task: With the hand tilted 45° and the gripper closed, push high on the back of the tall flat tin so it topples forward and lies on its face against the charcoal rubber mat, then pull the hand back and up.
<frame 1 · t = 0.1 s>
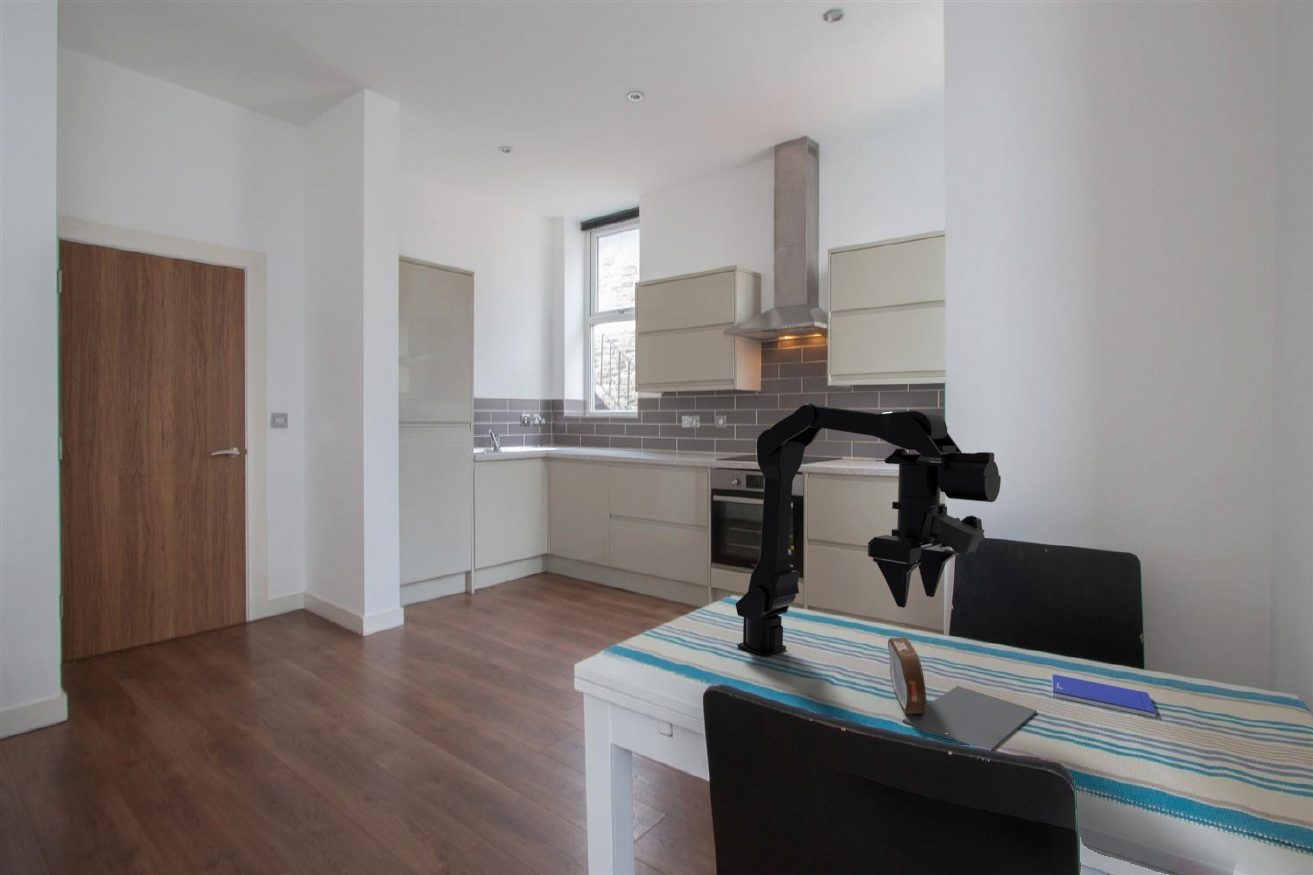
hand: (916, 601, 93), 15 cm above the table, tool pointing down, fingers open, 9 cm apart
tin: (905, 703, 92), on the table, touching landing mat
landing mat: (971, 716, 88), on the table
hard drive: (1099, 701, 96), on the table
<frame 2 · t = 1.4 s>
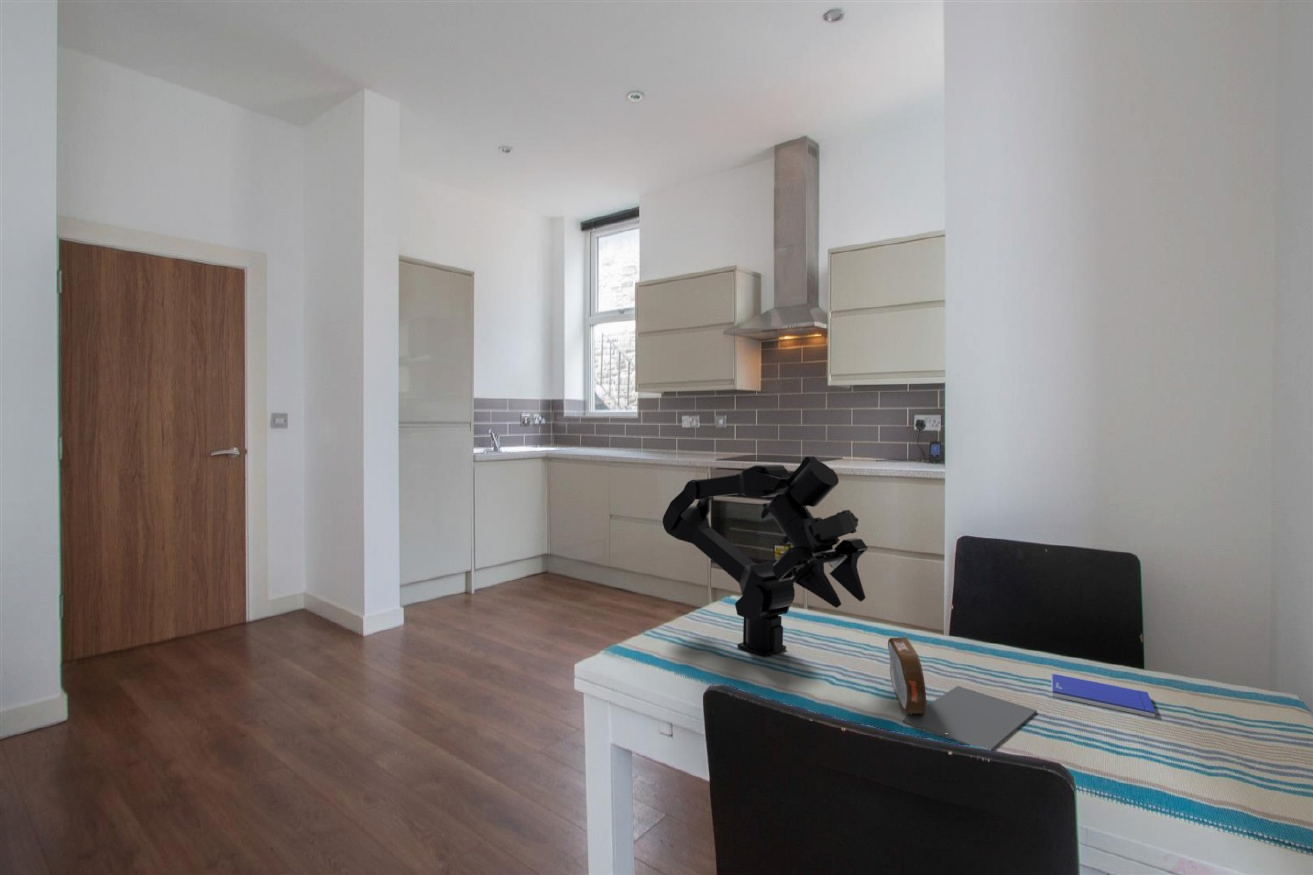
hand: (851, 603, 99), 13 cm above the table, tool tilted 45°, fingers open, 6 cm apart
nothing on the table moved.
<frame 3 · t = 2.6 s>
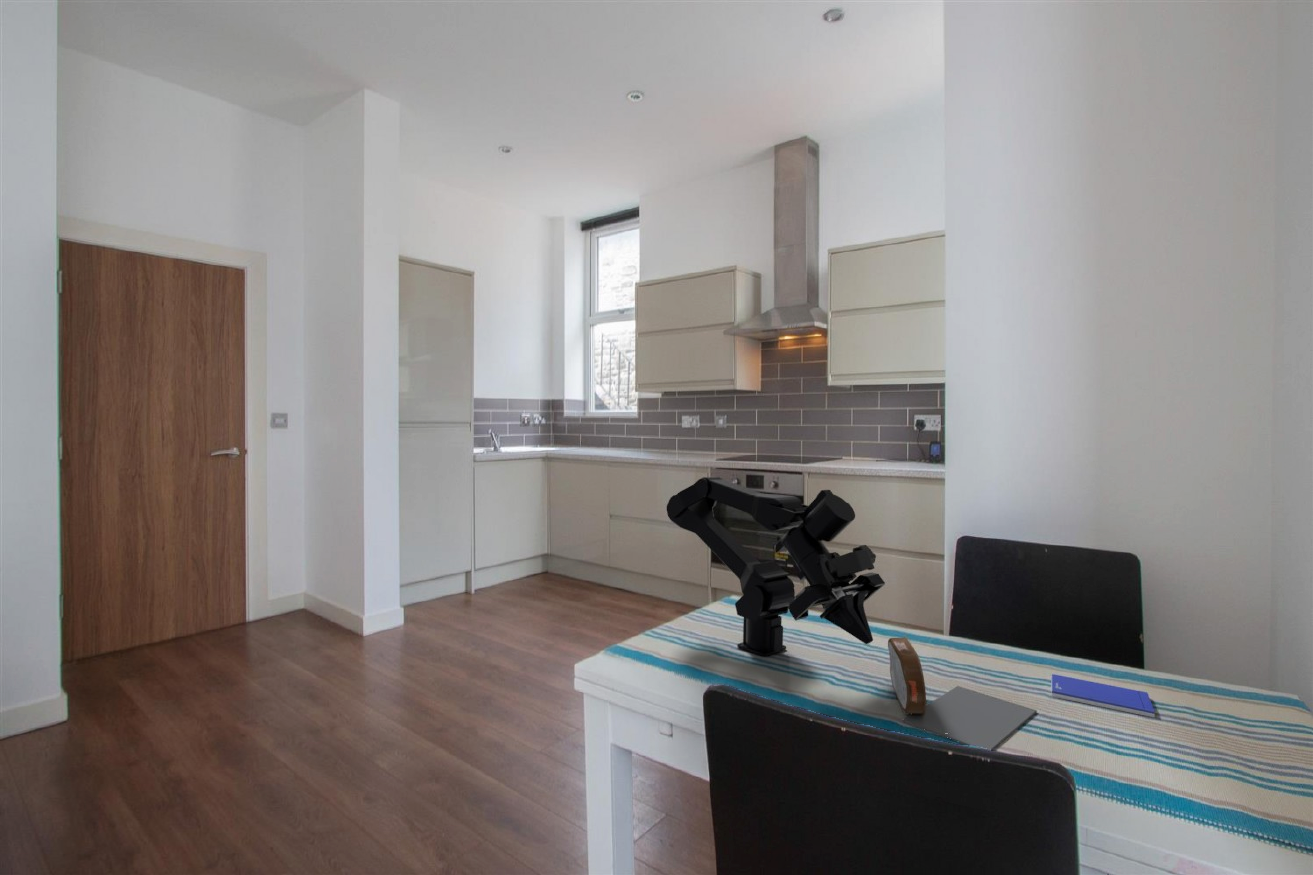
hand: (869, 642, 97), 7 cm above the table, tool tilted 45°, fingers closed
nothing on the table moved.
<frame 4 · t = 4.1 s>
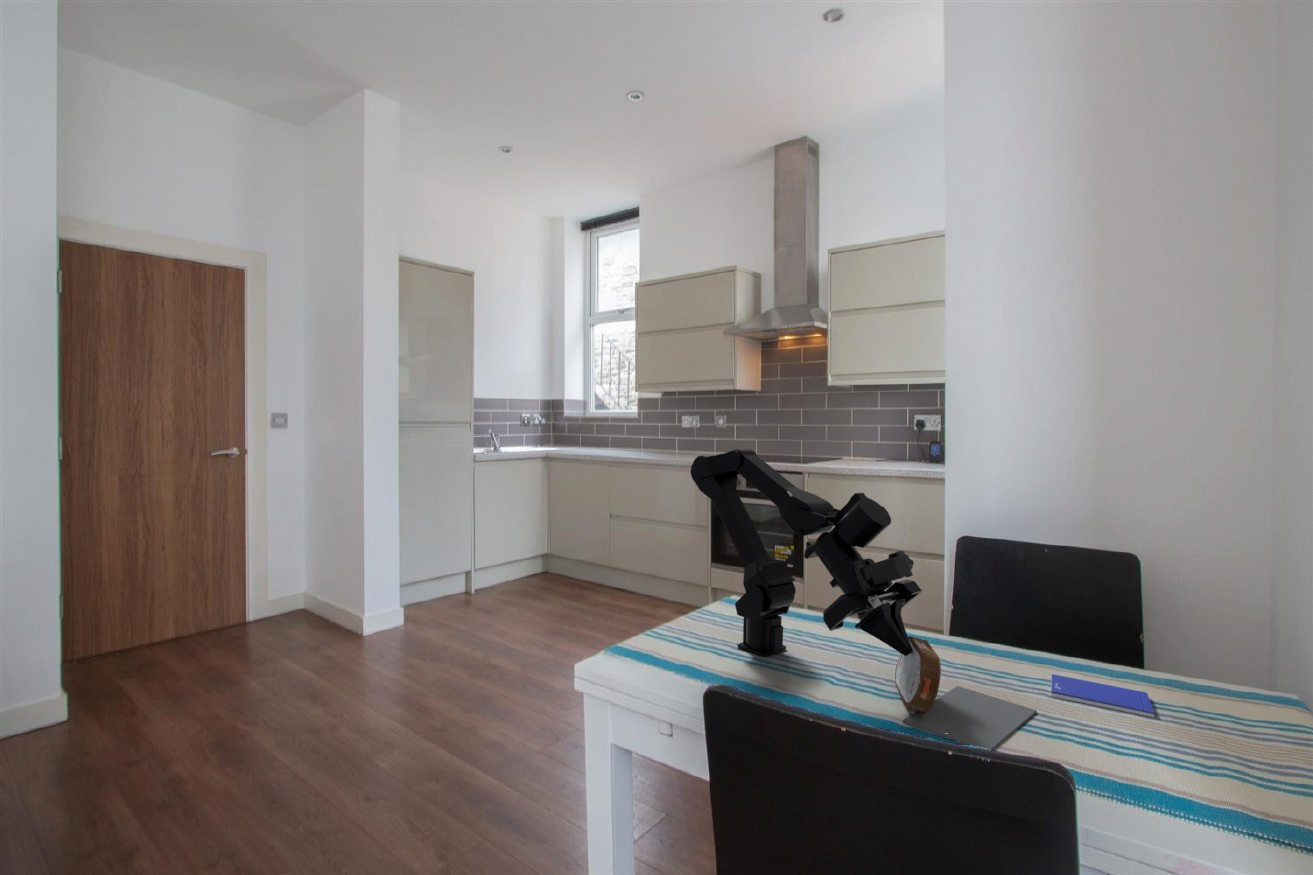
hand: (909, 653, 91), 7 cm above the table, tool tilted 45°, fingers closed
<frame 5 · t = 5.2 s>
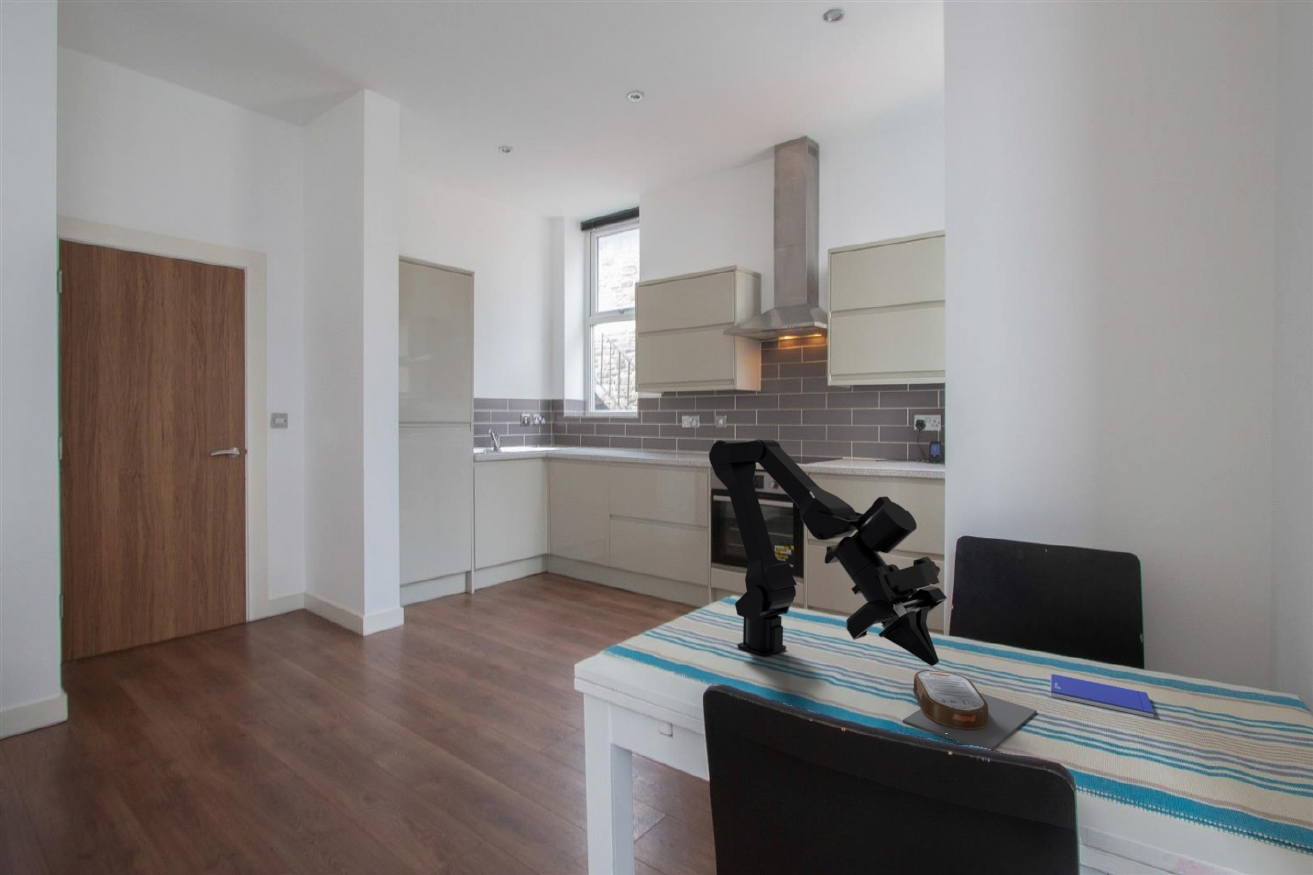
hand: (935, 664, 88), 7 cm above the table, tool tilted 45°, fingers closed
tin: (917, 691, 91), point 2 cm above the table, touching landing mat
everything else where it was.
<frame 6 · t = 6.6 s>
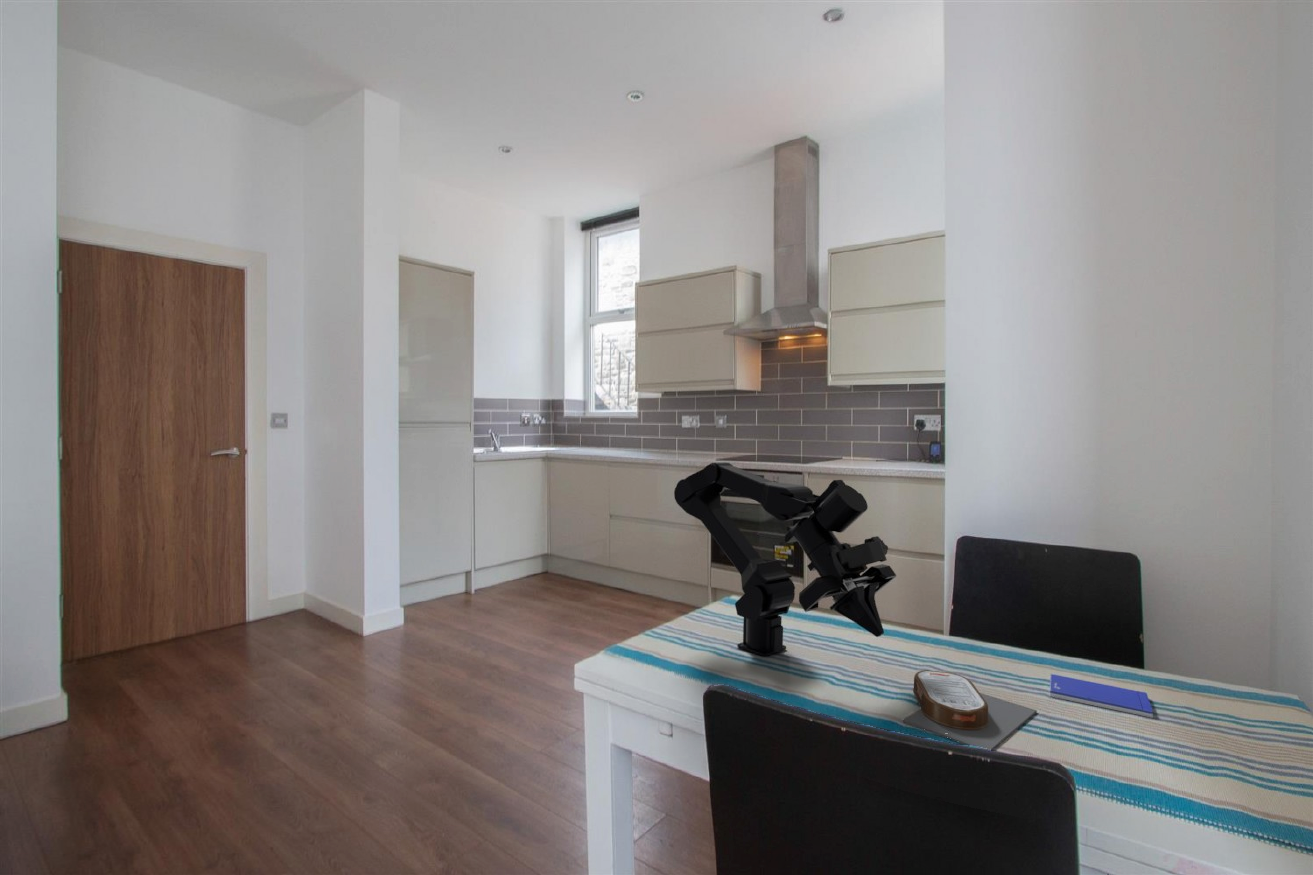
hand: (880, 635, 95), 9 cm above the table, tool tilted 45°, fingers closed
nothing on the table moved.
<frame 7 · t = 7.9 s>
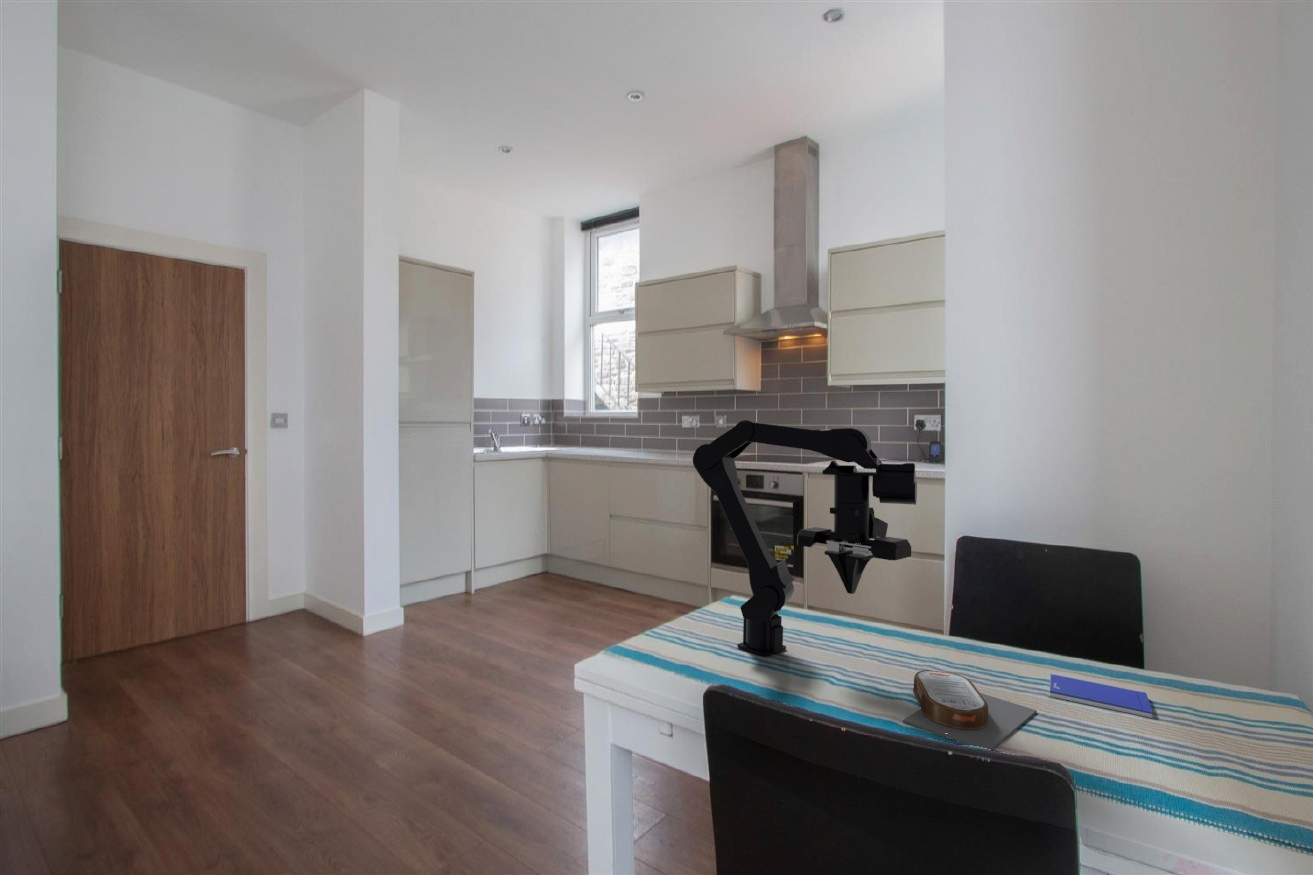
hand: (851, 593, 107), 12 cm above the table, tool pointing down, fingers closed
nothing on the table moved.
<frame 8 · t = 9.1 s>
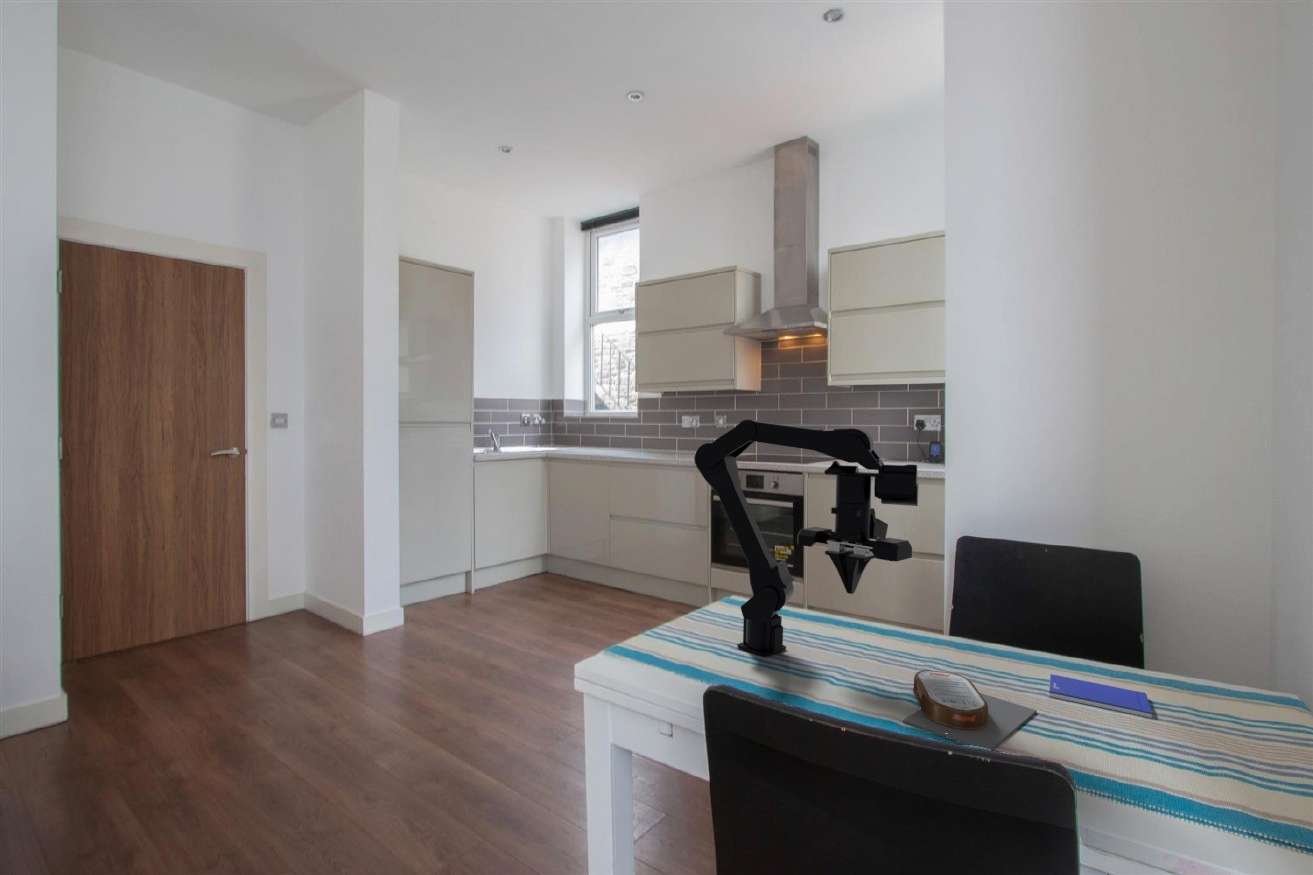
hand: (850, 593, 107), 12 cm above the table, tool pointing down, fingers closed
nothing on the table moved.
at the end: tin tilted 94°; tin touching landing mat; tin inside the target area (2.5 cm from its centre), point 1.9 cm above the table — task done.
